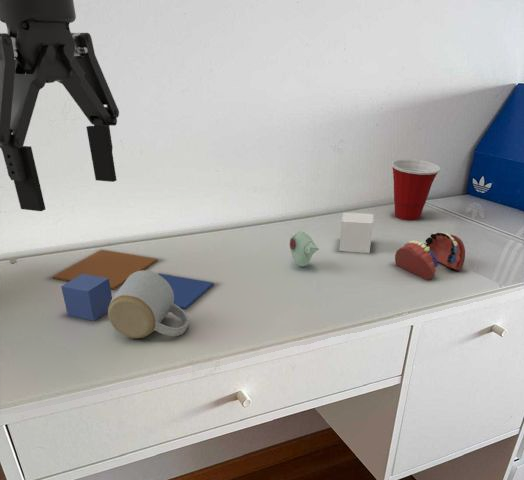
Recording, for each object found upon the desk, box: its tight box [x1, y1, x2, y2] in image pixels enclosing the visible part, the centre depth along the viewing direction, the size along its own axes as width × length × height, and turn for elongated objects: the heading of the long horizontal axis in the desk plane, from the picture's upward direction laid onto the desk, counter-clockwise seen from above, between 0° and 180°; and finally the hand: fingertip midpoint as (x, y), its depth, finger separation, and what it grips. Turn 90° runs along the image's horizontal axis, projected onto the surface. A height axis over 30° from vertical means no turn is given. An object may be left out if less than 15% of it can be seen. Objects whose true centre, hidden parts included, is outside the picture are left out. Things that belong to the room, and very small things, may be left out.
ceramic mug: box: [107, 269, 190, 339], centre depth 74 cm, size 11×8×8 cm
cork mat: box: [52, 249, 158, 290], centre depth 95 cm, size 13×14×1 cm
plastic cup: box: [390, 158, 441, 221], centre depth 118 cm, size 11×11×12 cm
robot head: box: [289, 230, 320, 268], centre depth 94 cm, size 8×4×7 cm, turn 25°
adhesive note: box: [338, 212, 374, 254], centre depth 103 cm, size 6×6×6 cm
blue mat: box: [157, 273, 215, 310], centre depth 87 cm, size 11×10×1 cm
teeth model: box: [394, 231, 466, 281], centre depth 94 cm, size 8×6×12 cm
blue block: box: [60, 274, 113, 322], centre depth 80 cm, size 5×5×5 cm
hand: (73, 194), depth 62 cm, fingers open, 13 cm apart
